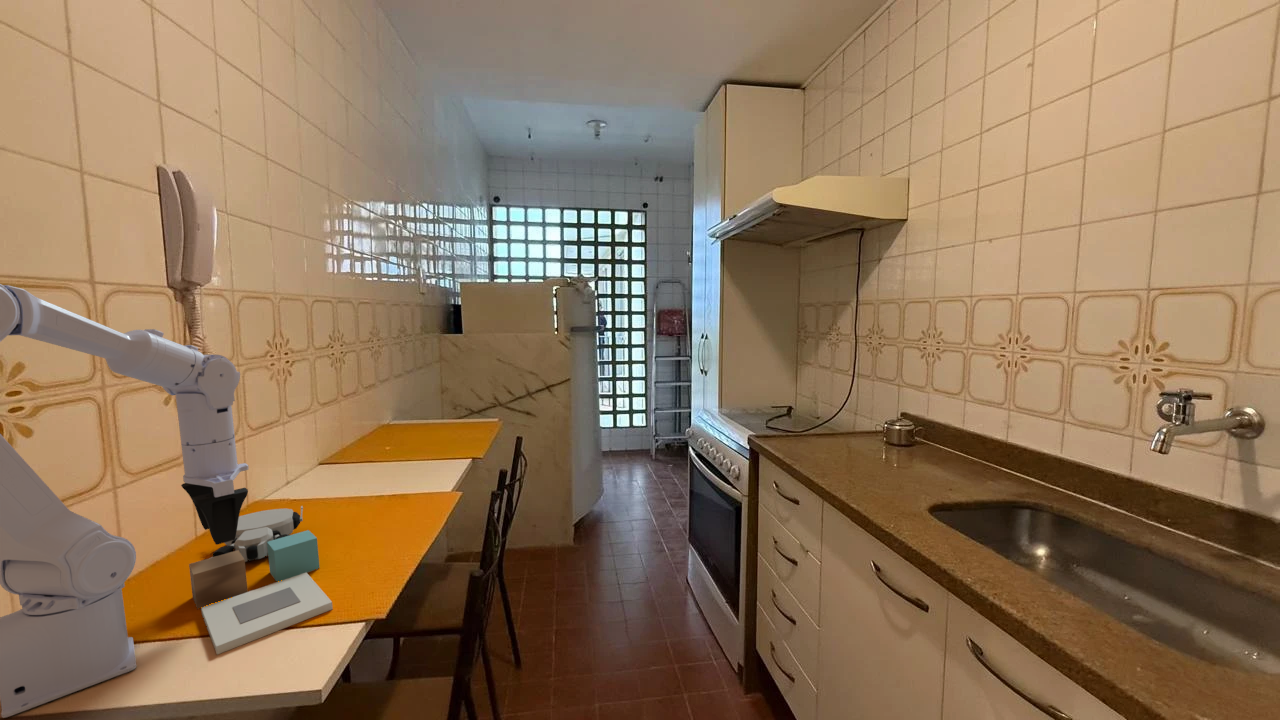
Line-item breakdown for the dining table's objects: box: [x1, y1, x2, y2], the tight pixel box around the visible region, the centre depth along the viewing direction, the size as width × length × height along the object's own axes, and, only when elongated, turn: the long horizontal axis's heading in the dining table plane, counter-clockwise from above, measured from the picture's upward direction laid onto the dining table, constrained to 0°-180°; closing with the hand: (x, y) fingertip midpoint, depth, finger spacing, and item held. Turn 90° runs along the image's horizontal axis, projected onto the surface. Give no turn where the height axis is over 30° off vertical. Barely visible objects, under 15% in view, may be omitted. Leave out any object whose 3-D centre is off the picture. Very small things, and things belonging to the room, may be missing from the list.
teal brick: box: [267, 529, 320, 582], centre depth 79 cm, size 6×4×5 cm
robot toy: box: [210, 505, 304, 563], centre depth 87 cm, size 12×4×15 cm
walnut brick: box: [188, 550, 249, 610], centre depth 72 cm, size 6×4×5 cm
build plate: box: [200, 572, 333, 655], centre depth 68 cm, size 12×12×1 cm
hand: (219, 534), depth 72 cm, fingers open, 7 cm apart
